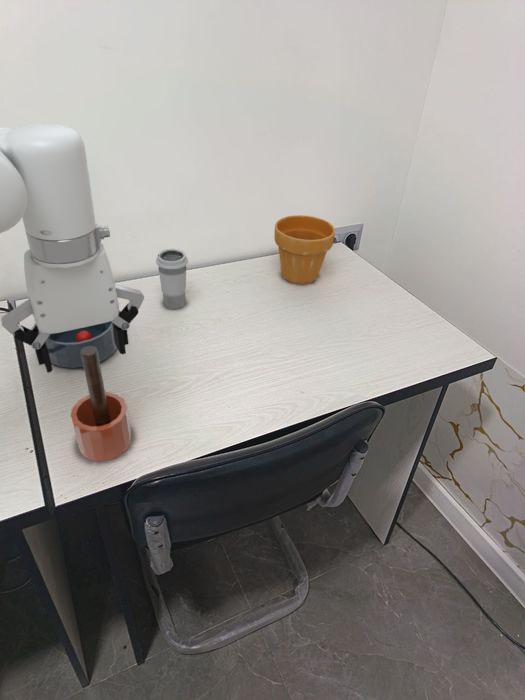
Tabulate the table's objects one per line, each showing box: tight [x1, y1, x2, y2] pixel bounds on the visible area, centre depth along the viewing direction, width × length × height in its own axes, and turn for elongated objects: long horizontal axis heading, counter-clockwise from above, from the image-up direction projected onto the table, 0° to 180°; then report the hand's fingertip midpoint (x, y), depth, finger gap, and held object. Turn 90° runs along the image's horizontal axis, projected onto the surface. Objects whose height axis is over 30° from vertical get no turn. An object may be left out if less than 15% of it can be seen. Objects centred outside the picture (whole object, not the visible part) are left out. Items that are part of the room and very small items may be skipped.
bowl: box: [45, 321, 118, 369], centre depth 95 cm, size 14×14×6 cm
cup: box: [155, 248, 189, 310], centre depth 107 cm, size 7×7×12 cm
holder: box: [70, 391, 132, 462], centre depth 76 cm, size 8×8×7 cm
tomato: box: [76, 331, 92, 342], centre depth 96 cm, size 3×3×3 cm
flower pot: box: [273, 214, 336, 285], centre depth 120 cm, size 14×14×13 cm
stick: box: [80, 346, 111, 426], centre depth 72 cm, size 2×2×18 cm
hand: (85, 357), depth 68 cm, fingers open, 9 cm apart
